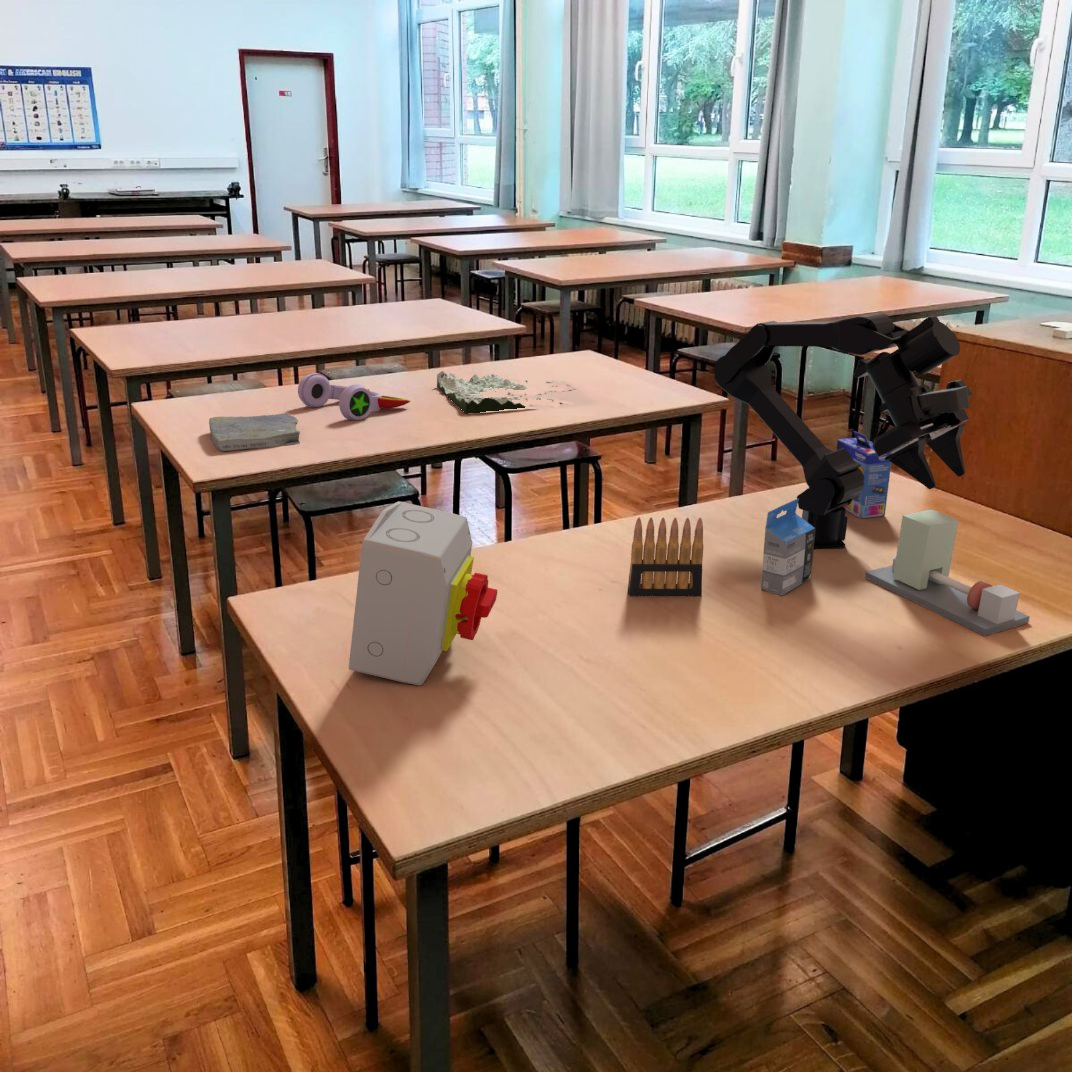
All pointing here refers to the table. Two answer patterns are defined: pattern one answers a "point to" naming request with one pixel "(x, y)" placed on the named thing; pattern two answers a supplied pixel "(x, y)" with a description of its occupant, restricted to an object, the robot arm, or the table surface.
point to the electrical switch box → (415, 592)
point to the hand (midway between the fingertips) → (947, 481)
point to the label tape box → (787, 550)
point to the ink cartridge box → (868, 477)
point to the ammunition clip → (666, 561)
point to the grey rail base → (959, 600)
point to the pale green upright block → (924, 547)
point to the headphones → (344, 397)
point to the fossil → (253, 431)
